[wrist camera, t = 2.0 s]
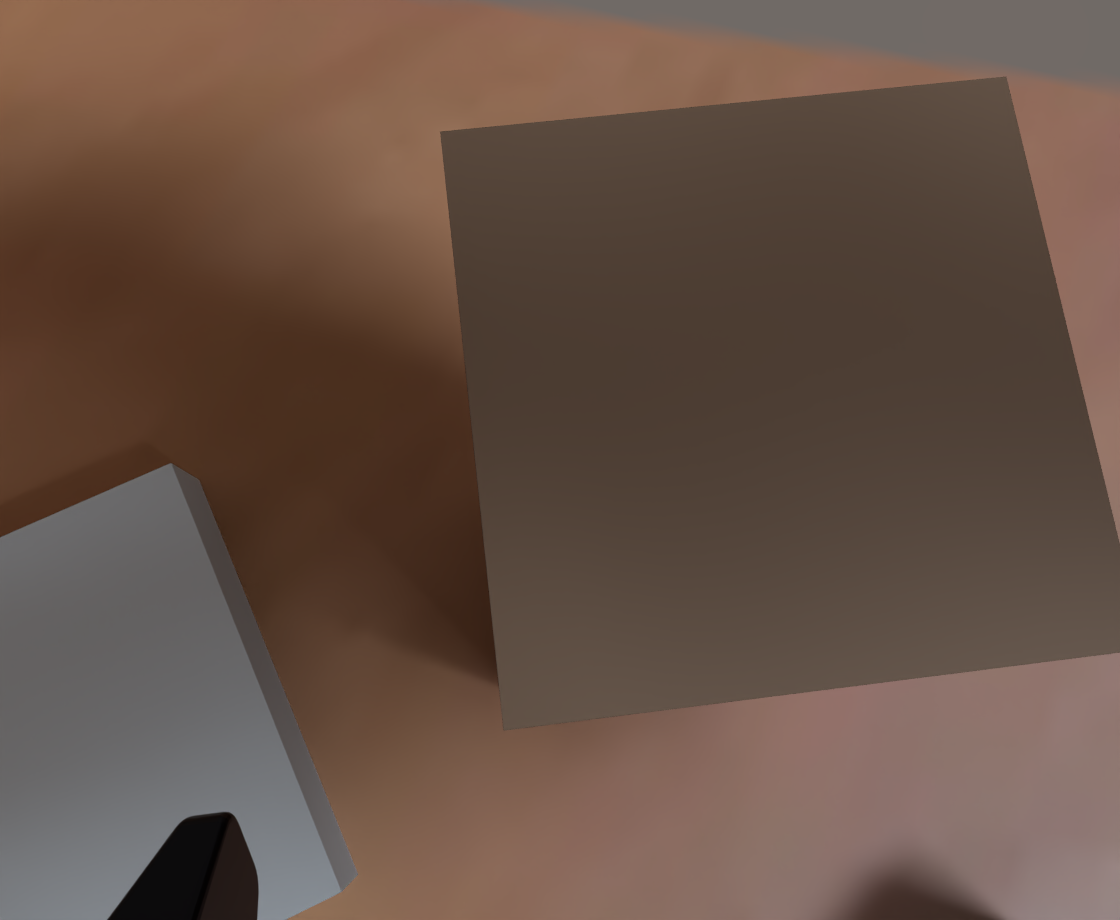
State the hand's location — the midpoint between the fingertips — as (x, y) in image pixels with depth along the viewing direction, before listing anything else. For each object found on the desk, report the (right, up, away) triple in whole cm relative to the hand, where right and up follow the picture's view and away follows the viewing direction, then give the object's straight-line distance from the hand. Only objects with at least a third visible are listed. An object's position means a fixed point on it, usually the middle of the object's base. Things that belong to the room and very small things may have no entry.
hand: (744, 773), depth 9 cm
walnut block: (0, +1, +10) cm, 10 cm away
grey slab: (-11, -3, +10) cm, 15 cm away
